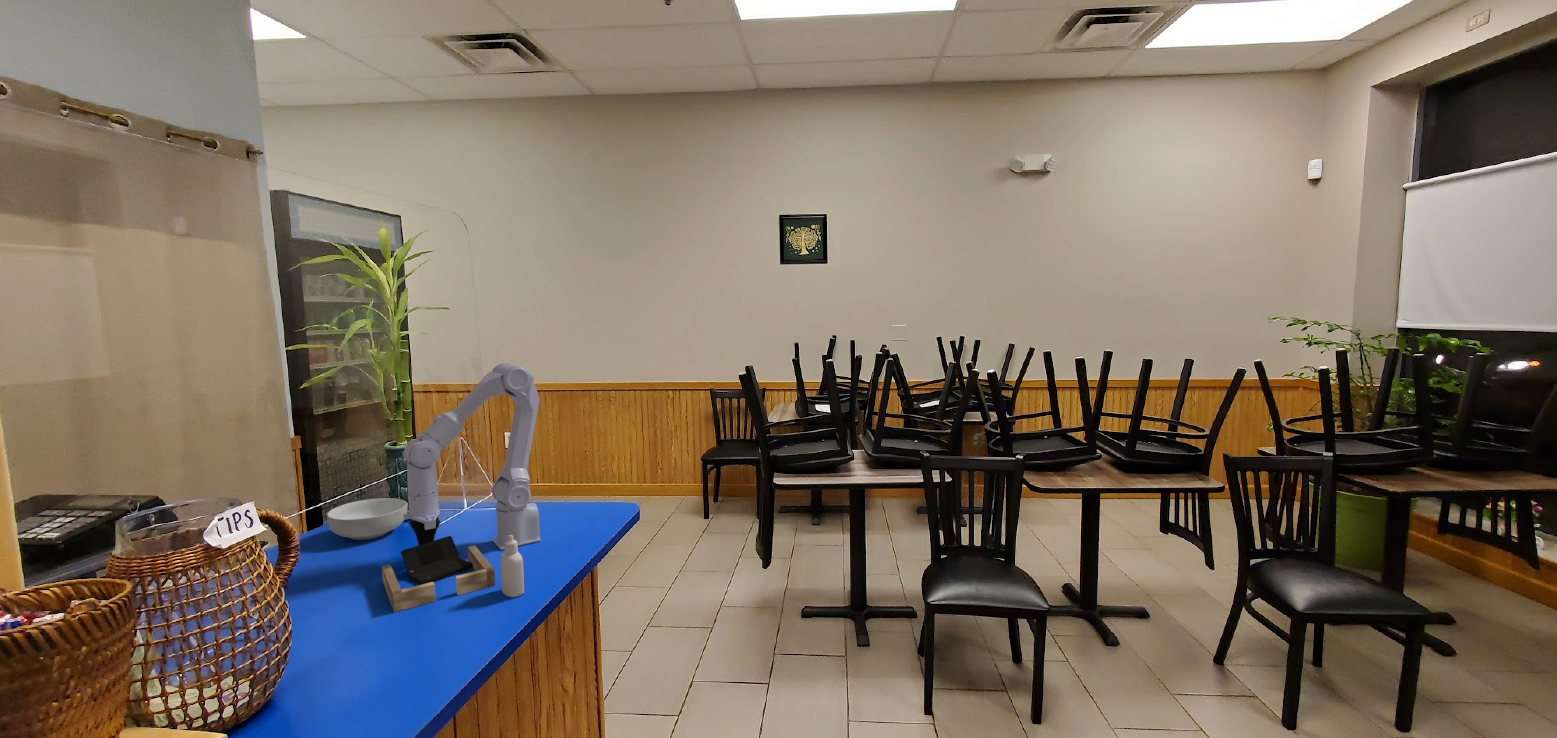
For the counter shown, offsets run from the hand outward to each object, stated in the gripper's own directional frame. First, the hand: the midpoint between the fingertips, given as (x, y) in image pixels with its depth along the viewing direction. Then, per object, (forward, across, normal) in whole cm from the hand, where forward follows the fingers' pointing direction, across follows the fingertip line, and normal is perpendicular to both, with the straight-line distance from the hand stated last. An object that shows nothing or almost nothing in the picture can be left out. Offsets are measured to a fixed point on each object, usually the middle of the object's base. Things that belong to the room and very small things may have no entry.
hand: (426, 551), depth 137 cm
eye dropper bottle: (+3, +27, +11) cm, 29 cm away
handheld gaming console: (+3, +6, +1) cm, 7 cm away
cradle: (+3, +13, 0) cm, 13 cm away
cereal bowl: (+3, -29, -8) cm, 31 cm away
